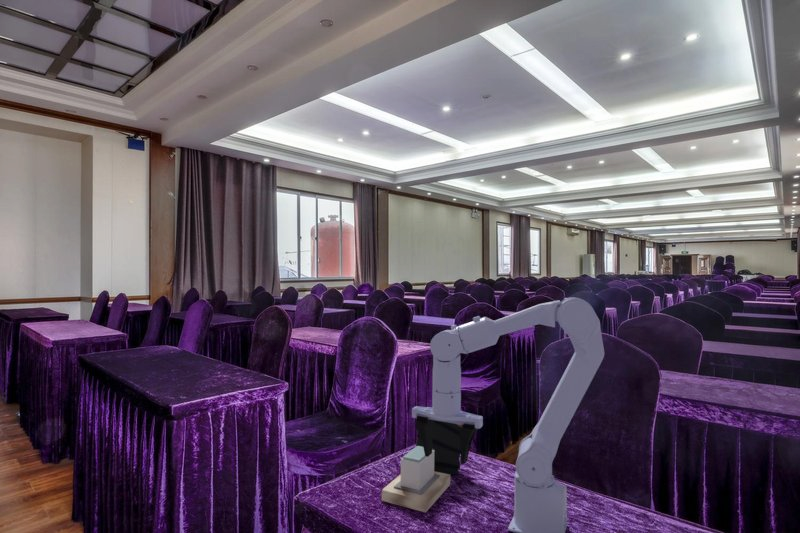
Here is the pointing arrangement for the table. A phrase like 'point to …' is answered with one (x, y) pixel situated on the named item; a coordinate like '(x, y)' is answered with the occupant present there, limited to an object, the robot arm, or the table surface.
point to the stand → (416, 492)
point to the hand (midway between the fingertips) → (445, 458)
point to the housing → (416, 468)
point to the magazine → (445, 447)
